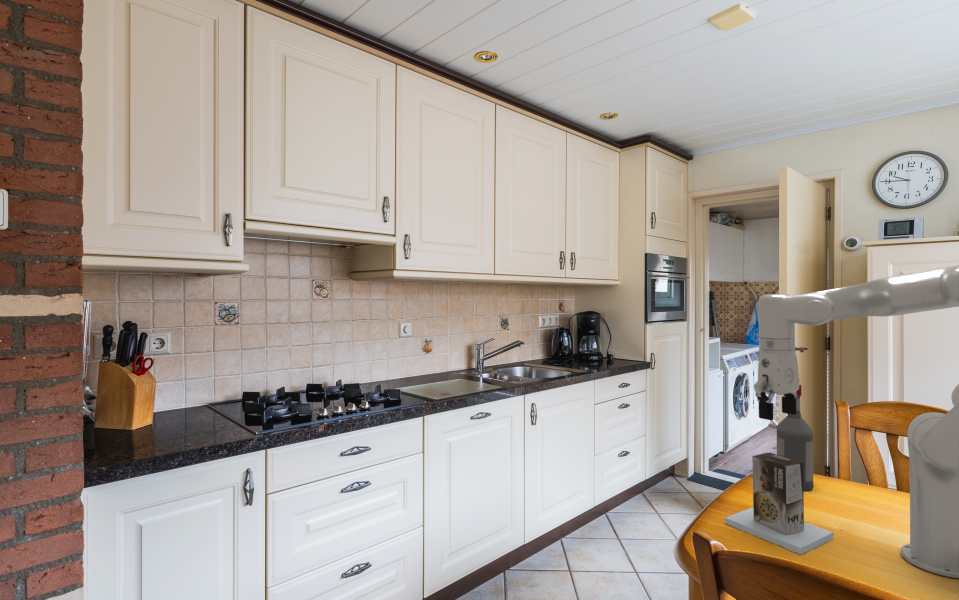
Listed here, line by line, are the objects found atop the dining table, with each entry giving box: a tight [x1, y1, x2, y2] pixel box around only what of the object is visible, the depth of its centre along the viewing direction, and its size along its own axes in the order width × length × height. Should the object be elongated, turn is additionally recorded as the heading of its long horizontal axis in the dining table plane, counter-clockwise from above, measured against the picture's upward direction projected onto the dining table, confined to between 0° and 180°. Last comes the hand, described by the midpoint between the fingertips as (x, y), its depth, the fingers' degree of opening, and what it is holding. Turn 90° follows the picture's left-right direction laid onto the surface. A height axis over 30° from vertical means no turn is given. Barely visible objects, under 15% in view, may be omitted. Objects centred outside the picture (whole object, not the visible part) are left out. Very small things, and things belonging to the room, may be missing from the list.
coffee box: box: [751, 452, 805, 535], centre depth 122 cm, size 9×6×16 cm
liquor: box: [776, 384, 814, 492], centre depth 152 cm, size 9×9×30 cm
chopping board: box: [724, 507, 834, 555], centre depth 123 cm, size 18×14×2 cm
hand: (777, 416), depth 122 cm, fingers open, 9 cm apart
